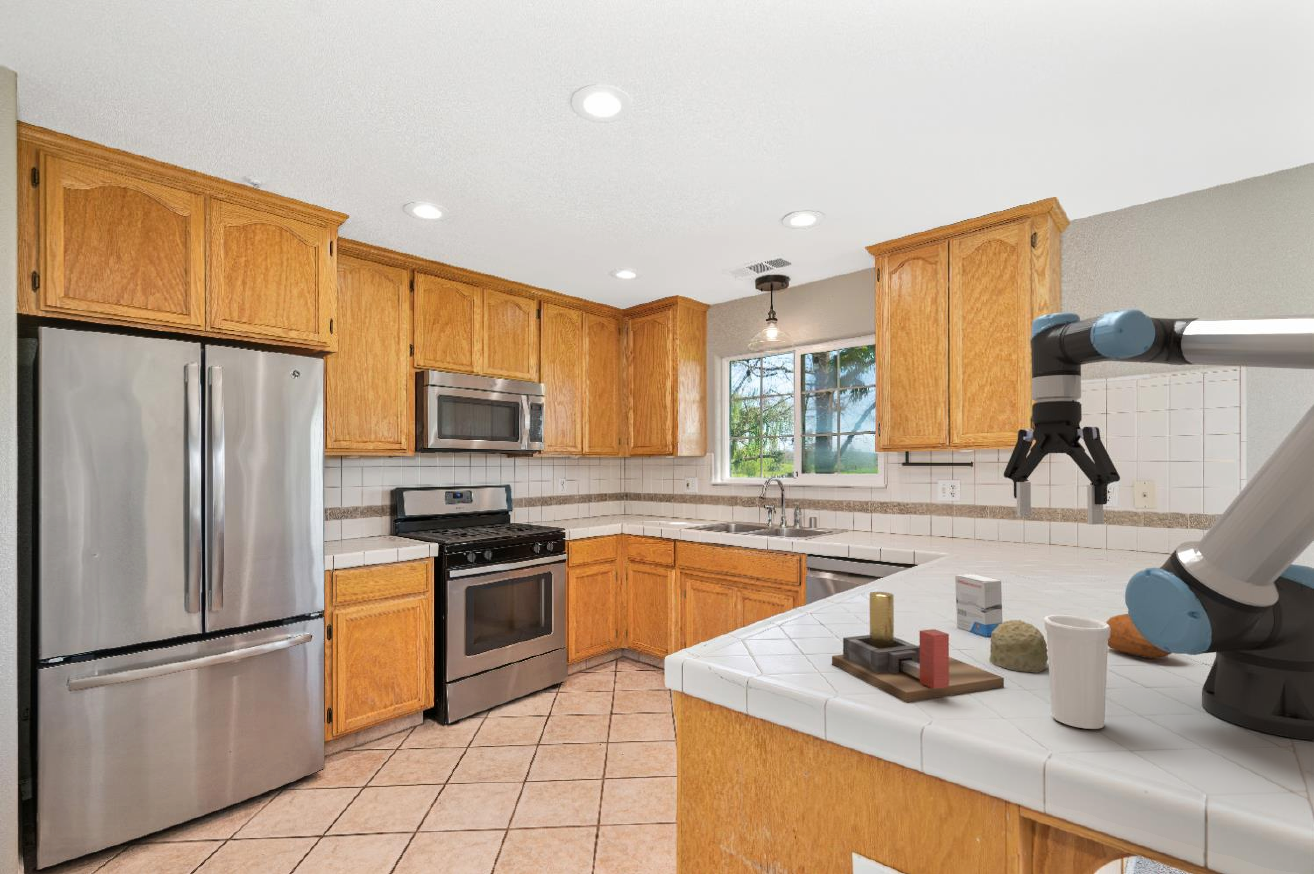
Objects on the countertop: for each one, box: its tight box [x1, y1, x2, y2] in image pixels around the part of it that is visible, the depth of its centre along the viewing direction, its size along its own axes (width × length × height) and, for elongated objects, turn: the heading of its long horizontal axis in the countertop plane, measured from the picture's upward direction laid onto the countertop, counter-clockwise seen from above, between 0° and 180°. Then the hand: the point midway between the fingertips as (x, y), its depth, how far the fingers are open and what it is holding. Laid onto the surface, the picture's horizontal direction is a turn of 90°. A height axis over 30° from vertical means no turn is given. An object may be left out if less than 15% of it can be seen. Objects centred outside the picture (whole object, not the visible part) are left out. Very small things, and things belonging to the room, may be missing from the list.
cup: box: [1043, 614, 1111, 730], centre depth 91 cm, size 8×8×14 cm
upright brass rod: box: [869, 591, 895, 649], centre depth 112 cm, size 4×4×12 cm
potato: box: [1105, 613, 1172, 659], centre depth 122 cm, size 9×11×8 cm
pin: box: [899, 628, 950, 689], centre depth 104 cm, size 10×3×8 cm, turn 20°
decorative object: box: [989, 619, 1049, 673], centre depth 117 cm, size 9×10×10 cm
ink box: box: [955, 573, 1004, 638], centre depth 139 cm, size 9×5×12 cm, turn 17°
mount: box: [831, 634, 1005, 703], centre depth 110 cm, size 19×20×5 cm
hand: (1057, 520), depth 113 cm, fingers open, 13 cm apart
